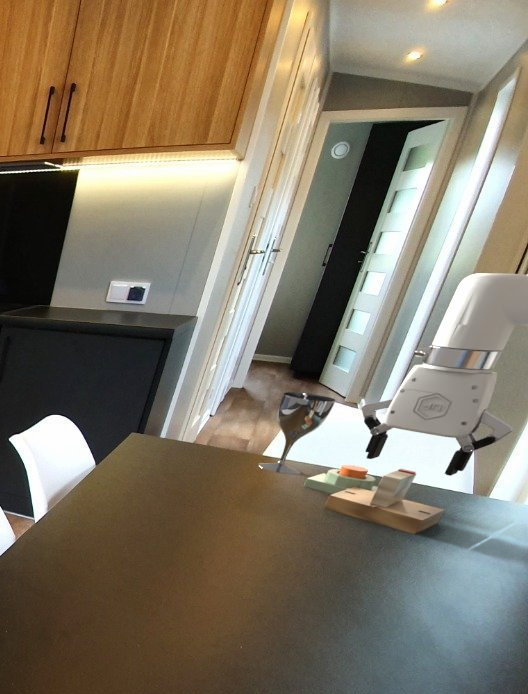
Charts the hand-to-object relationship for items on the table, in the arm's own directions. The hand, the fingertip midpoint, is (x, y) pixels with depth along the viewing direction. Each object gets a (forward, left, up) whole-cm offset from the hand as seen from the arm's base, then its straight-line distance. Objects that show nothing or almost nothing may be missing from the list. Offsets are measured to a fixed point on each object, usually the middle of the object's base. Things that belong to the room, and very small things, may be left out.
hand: (409, 465), depth 105 cm
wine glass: (+21, -14, -9) cm, 27 cm away
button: (+9, -9, -6) cm, 14 cm away
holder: (+1, 0, -7) cm, 7 cm away
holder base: (+1, 0, -9) cm, 9 cm away
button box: (+9, -9, -9) cm, 15 cm away
